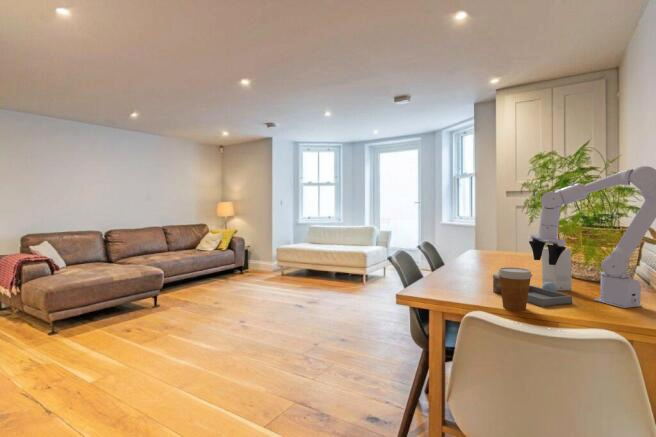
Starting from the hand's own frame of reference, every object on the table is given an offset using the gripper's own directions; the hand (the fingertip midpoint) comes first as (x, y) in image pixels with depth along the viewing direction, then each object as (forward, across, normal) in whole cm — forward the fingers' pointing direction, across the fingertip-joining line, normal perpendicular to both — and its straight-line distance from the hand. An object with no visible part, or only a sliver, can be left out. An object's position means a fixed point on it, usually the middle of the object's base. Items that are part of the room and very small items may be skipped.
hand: (544, 262), depth 124 cm
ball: (+11, +3, +1) cm, 11 cm away
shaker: (+12, -2, -15) cm, 19 cm away
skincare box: (+11, -5, +10) cm, 16 cm away
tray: (+11, +8, -8) cm, 16 cm away
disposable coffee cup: (+12, +17, -22) cm, 30 cm away
